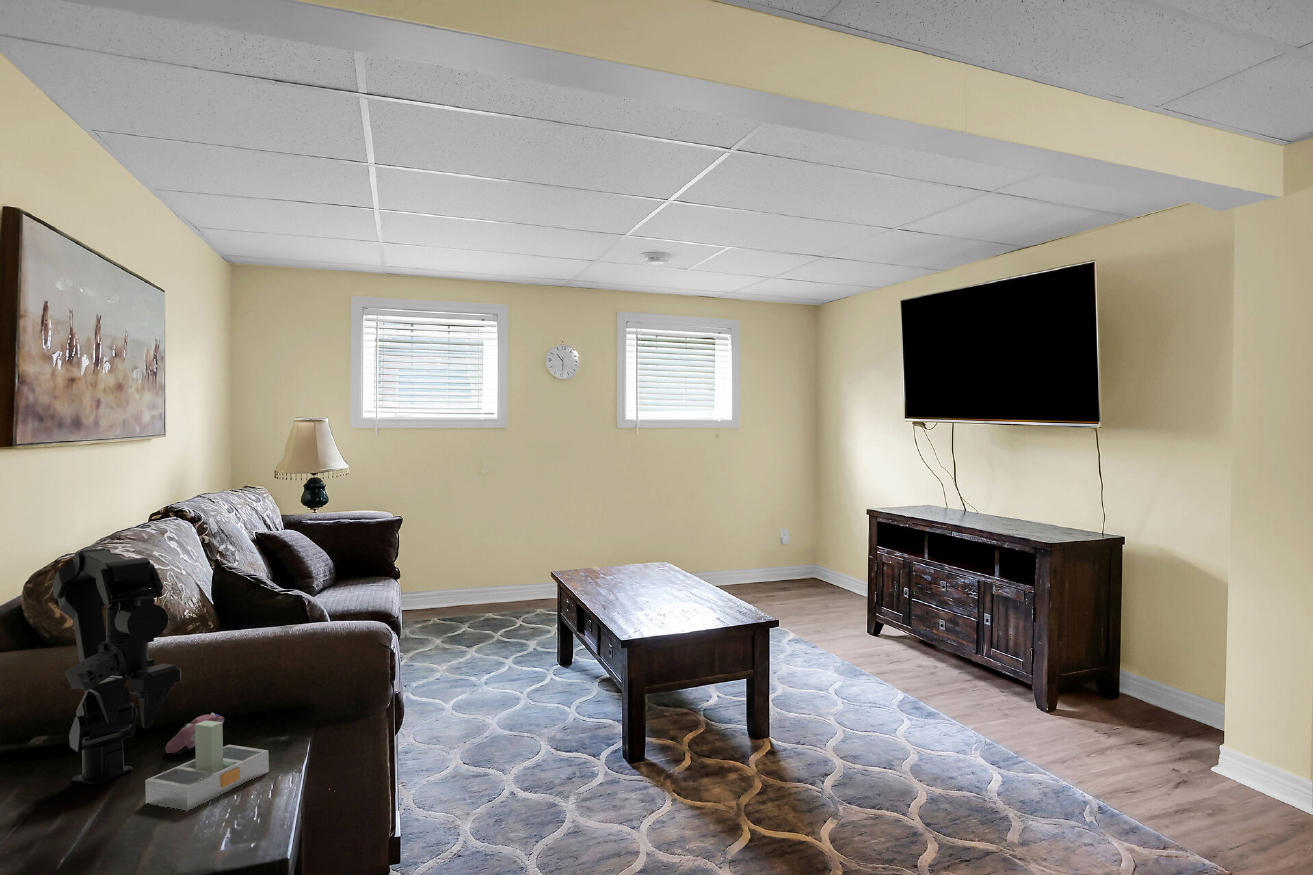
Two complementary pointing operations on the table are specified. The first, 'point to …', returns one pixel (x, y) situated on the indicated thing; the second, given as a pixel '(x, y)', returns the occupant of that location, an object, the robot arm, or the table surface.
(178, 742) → the video game controller
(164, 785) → the rack
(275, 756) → the table surface
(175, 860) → the table surface
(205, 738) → the pale green rectangular block
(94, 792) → the table surface
